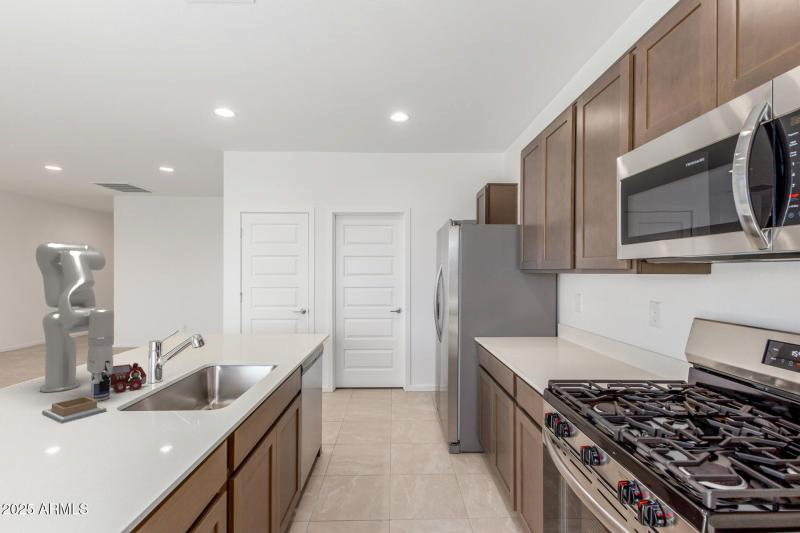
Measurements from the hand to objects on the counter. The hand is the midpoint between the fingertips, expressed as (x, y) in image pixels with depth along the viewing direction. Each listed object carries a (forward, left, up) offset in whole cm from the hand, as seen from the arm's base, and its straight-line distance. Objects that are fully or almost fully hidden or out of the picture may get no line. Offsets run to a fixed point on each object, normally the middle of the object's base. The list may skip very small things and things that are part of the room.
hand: (100, 389), depth 143 cm
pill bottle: (0, 0, -4) cm, 4 cm away
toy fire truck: (-4, +11, -4) cm, 12 cm away
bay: (+9, -11, -3) cm, 15 cm away
